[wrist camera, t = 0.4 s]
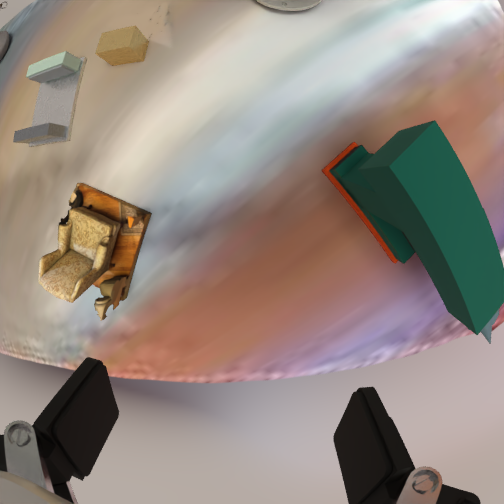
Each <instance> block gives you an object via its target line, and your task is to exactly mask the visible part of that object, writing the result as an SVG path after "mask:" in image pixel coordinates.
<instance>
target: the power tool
mask: <svg viewBox="0 0 504 504" xmlns="http://www.w3.org/2000/svg"><path fill="white" fill-rule="evenodd" d="M322 172H323V173H324V174H325V175H326V176H327V177H328V178H329V180H330V181H331V182H332V183H333V184H334V186H335V187H336V188H337V189H338V190H339V192H340V193H341V194H342V195H343V196H344V198H345V199H346V200H347V201H348V203H349V204H350V205H351V206H352V208H353V209H354V210H355V211H356V213H357V214H358V215H359V217H360V218H361V219H362V221H363V222H364V223H365V224H366V226H367V227H368V228H369V230H370V231H371V232H372V234H373V235H374V237H375V238H376V239H377V241H378V242H379V243H380V245H381V246H382V248H383V249H384V251H385V252H386V253H387V255H388V256H389V258H390V259H391V261H392V262H393V263H396V262H397V261H398V260H399V261H400V262H402V263H403V264H404V263H405V262H406V261H407V260H408V259H409V258H410V257H411V256H412V255H413V254H414V253H415V252H416V253H417V255H418V256H419V258H420V260H421V261H422V263H423V265H424V267H425V268H426V270H427V272H428V274H429V275H430V277H431V279H432V281H433V283H434V285H435V287H436V288H437V290H438V292H439V294H440V296H441V298H442V300H443V302H444V304H445V306H446V308H447V310H448V312H449V313H450V314H452V315H453V316H454V317H455V318H457V319H458V320H459V321H460V322H462V323H463V324H464V325H465V326H466V327H468V329H469V330H471V331H472V332H474V333H475V334H476V335H478V334H479V333H480V331H481V333H482V334H483V335H484V336H485V338H486V339H487V340H488V342H489V343H491V330H492V325H493V324H494V323H495V321H496V319H497V317H498V315H499V308H500V307H501V305H502V304H503V303H504V267H503V263H502V260H501V256H500V253H499V250H498V246H497V243H496V240H495V237H494V234H493V232H492V229H491V226H490V223H489V221H488V218H487V216H486V213H485V211H484V208H482V205H481V203H480V201H479V199H478V196H477V194H476V192H475V190H474V188H473V186H472V183H471V181H470V179H469V177H468V175H467V173H466V172H465V170H464V168H463V166H462V164H461V162H460V160H459V159H458V157H457V155H456V153H455V151H454V150H453V148H452V146H451V145H450V143H449V141H448V140H447V138H446V137H445V135H444V133H443V132H442V130H441V129H440V127H439V126H438V124H437V123H436V121H431V122H427V123H424V124H421V125H417V126H414V127H411V128H407V129H404V130H401V131H398V132H397V133H396V134H395V135H394V136H393V137H392V138H391V139H390V140H389V141H388V142H387V143H386V144H385V145H384V146H382V147H381V148H380V149H379V150H378V151H377V152H376V153H375V154H371V153H368V152H367V151H366V149H365V148H364V147H363V146H362V145H360V146H358V145H357V144H356V143H355V142H353V143H352V144H351V145H349V146H348V147H347V148H346V149H345V150H344V151H343V152H342V153H341V154H339V155H338V156H337V157H336V158H335V159H334V160H333V161H332V162H330V163H329V164H328V165H327V166H326V167H325V168H324V169H323V170H322Z"/></svg>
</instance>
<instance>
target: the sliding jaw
mask: <svg viewBox="0 0 504 504" xmlns="http://www.w3.org/2000/svg"><path fill="white" fill-rule="evenodd" d="M80 63H81V59H79V58H77V57H76V56H74V55H72V54H70V53H69V52H67V51H65V52H62V53H59V54H57V55H54V56H51V57H49V58H46V59H44V60H41V61H39V62H37V63H34V64H32V65H30V66H29V69H28V72H27V75H26V77H27V78H29V79H31V80H33V81H36V82H39V83H44V82H46V81H49V80H52V79H55V78H59V77H62V76H65V75H69V74H72V73H74V72H77V71H78V70H79V66H80Z"/></svg>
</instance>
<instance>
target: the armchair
mask: <svg viewBox="0 0 504 504" xmlns="http://www.w3.org/2000/svg"><path fill="white" fill-rule="evenodd" d="M69 206H71V207H72V208H71V210H70V211H69V210H68V215H67V216H66V217H65V218H64V219H61V222H59V227H58V230H59V231H58V249H57V250H56V251H54V252H52V253H49V254H47V255H45V256H43V257H42V258H41V259H40V262H39V275H38V281H39V283H40V284H41V285H42V286H43V288H44V289H45V290H46V291H48V292H50V293H51V294H53V295H54V296H56V297H58V298H60V299H63V300H66V301H69V302H72V303H73V302H74V301H75V300H76V299H77V298H78V297H79V296H81V294H82V293H83V292H84V291H86V290H87V289H88V288H89V287H90V286H91V285H92V284H93V285H95V287H98V288H100V291H101V294H102V295H103V296H104V297H103V298H98V299H96V300H95V304H94V306H95V310H97V311H98V314H97V315H99V317H100V319H101V321H102V320H104V319H105V318H106V317H107V316H106V315H105V313H106V311H107V309H108V307H109V306H110V305H111V304H113V310H114V309H115V308H116V307H117V306H118V305H119V301H120V300H122V301H123V300H125V299H126V298H127V295H128V291H129V287H130V283H131V279H132V276H133V272H134V268H135V265H136V261H137V258H138V254H139V251H140V248H141V244H142V241H143V238H144V235H145V232H146V229H147V225H148V222H149V219H150V217H151V214H152V213H150V212H148V211H145V210H143V209H141V208H138V207H136V206H134V205H131V204H129V203H127V202H125V201H122V200H120V199H118V198H116V197H113V196H111V195H109V194H106V193H104V192H102V191H100V190H97V189H95V188H93V187H90V186H88V185H86V184H84V183H77V186H76V188H75V190H74V191H73V193H72V195H71V198H70V200H69ZM66 222H67V224H66Z"/></svg>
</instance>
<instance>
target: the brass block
mask: <svg viewBox="0 0 504 504" xmlns="http://www.w3.org/2000/svg"><path fill="white" fill-rule="evenodd" d="M148 43H149V41H148V40H147V39H146V38H145V36H144V35H143V34H142V33H141V32H140V30H139V29H138V28H137V27H136V26H131V27H126V28H122V29H117V30H113V31H109V32H105V33H102V35H101V38H100V41H99V44H98V47H97V50H96V53H95V54H97V55H98V56H99V57H101V58H102V59H104V60H105V61H106V62H108V63H109V64H111V65H112V66H115V65H121V64H127V63H133V62H140V61H144V59H145V55H146V51H147V47H148Z"/></svg>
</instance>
